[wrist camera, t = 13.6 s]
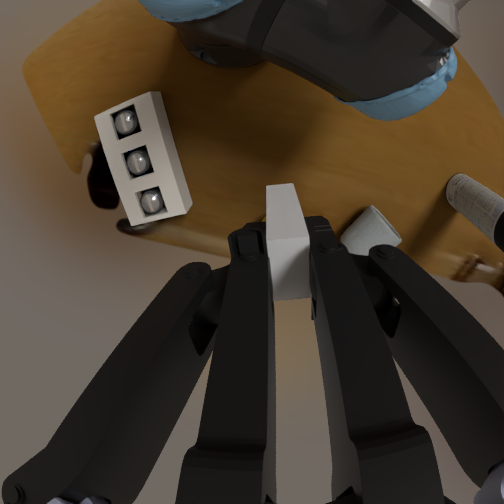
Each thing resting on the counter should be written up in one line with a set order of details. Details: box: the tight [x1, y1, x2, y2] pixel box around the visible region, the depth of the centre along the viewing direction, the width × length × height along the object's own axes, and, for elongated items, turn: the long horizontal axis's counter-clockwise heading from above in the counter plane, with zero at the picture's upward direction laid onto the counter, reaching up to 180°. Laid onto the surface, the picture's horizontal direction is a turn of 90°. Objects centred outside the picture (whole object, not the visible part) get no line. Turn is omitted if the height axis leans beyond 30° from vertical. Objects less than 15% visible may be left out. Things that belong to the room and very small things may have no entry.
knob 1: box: [114, 109, 141, 134], centre depth 34 cm, size 4×4×4 cm
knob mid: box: [127, 147, 153, 175], centre depth 38 cm, size 4×4×4 cm
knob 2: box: [140, 186, 165, 214], centre depth 41 cm, size 4×4×4 cm
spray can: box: [446, 174, 504, 252], centre depth 30 cm, size 7×7×20 cm
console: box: [94, 91, 193, 226], centre depth 38 cm, size 19×10×4 cm, turn 12°
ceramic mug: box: [340, 205, 402, 256], centre depth 41 cm, size 11×8×8 cm
